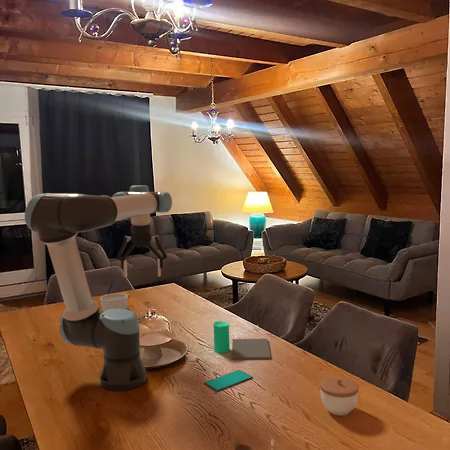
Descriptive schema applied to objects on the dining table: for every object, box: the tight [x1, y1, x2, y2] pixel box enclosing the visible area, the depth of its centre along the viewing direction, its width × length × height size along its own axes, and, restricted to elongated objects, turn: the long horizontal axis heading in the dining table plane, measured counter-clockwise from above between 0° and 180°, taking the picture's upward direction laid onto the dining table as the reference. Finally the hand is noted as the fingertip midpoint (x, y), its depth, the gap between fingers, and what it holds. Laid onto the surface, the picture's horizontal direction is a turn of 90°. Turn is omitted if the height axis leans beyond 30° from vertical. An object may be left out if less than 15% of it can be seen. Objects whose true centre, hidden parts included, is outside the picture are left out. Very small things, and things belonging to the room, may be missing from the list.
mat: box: [231, 338, 272, 360], centre depth 183 cm, size 18×14×1 cm
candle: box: [213, 320, 231, 354], centre depth 182 cm, size 6×6×12 cm
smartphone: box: [203, 369, 254, 393], centre depth 157 cm, size 7×1×15 cm
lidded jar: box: [319, 376, 360, 417], centre depth 137 cm, size 11×11×9 cm
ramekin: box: [99, 293, 129, 312], centre depth 235 cm, size 13×13×7 cm
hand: (142, 276), depth 194 cm, fingers open, 13 cm apart
